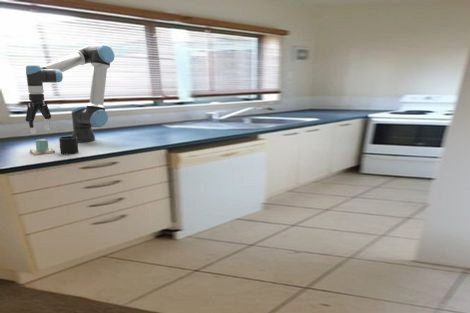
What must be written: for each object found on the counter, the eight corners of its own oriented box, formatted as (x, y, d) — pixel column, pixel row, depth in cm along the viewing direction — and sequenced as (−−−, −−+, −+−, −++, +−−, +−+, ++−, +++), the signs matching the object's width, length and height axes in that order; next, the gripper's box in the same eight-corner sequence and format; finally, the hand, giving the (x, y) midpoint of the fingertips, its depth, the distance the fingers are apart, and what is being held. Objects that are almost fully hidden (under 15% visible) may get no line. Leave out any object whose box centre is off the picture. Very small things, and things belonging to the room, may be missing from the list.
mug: (70, 149, 217) (69, 135, 215) (81, 152, 210) (80, 137, 208) (55, 152, 210) (53, 137, 208) (65, 155, 203) (64, 139, 200)
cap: (41, 148, 212) (40, 138, 211) (50, 149, 212) (49, 139, 210) (34, 151, 207) (33, 140, 205) (44, 151, 206) (42, 141, 205)
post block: (51, 149, 217) (50, 140, 216) (55, 152, 209) (54, 143, 207) (30, 151, 210) (29, 142, 209) (33, 155, 202) (32, 145, 201)
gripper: (43, 92, 214) (47, 128, 219) (14, 94, 191) (19, 134, 196) (55, 92, 213) (59, 128, 218) (27, 94, 190) (32, 135, 195)
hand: (40, 131), depth 207 cm, fingers open, 12 cm apart
